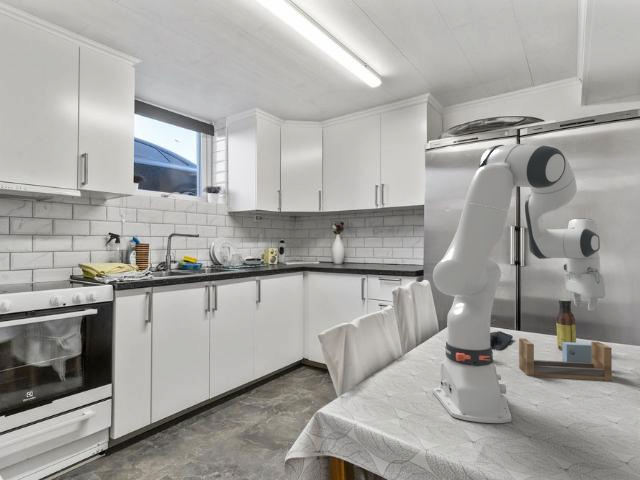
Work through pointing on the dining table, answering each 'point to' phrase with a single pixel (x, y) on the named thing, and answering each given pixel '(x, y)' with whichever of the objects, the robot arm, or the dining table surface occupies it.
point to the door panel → (576, 352)
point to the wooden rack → (567, 364)
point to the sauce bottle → (565, 323)
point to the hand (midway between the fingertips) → (584, 308)
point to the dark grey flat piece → (499, 340)
